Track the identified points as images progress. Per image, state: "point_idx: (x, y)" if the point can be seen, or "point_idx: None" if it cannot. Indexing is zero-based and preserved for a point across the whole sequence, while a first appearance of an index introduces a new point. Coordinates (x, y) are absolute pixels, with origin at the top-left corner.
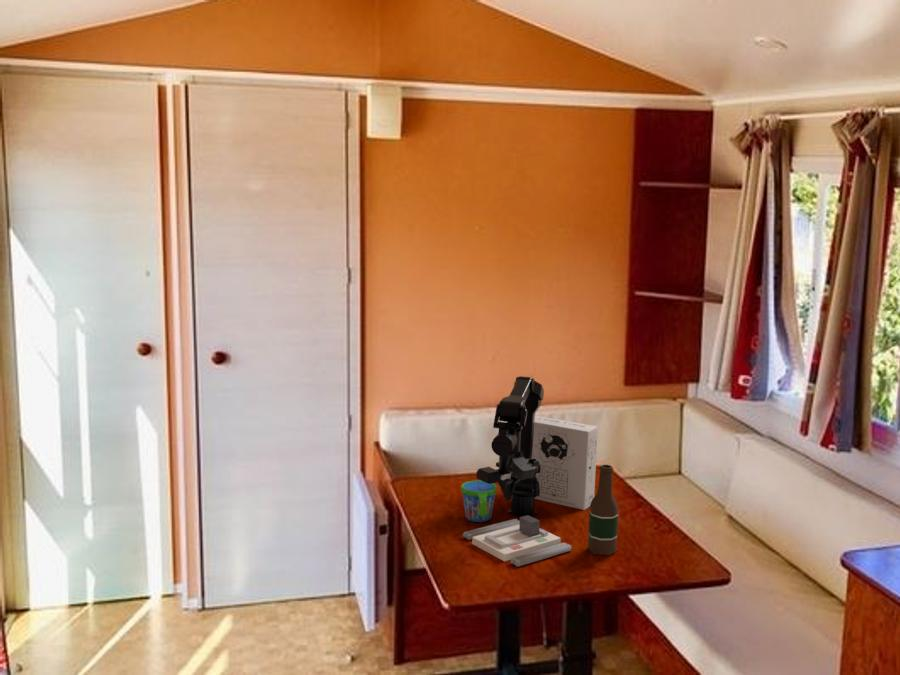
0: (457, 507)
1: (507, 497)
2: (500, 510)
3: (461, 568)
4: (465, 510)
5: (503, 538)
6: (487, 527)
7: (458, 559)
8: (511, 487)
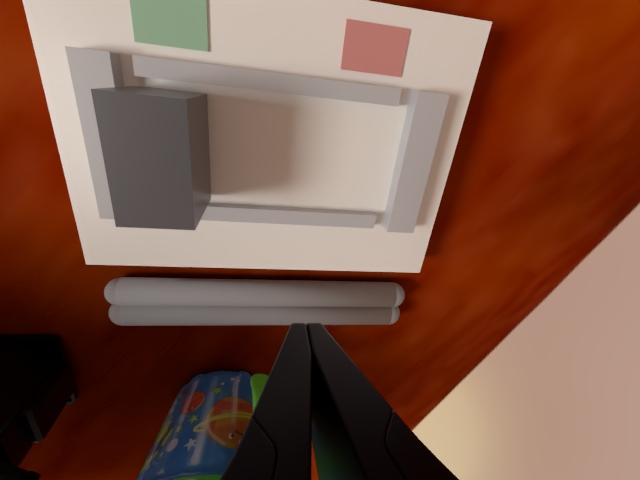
0: None
1: (340, 349)
2: (100, 415)
3: (626, 110)
4: None
5: (334, 185)
6: (290, 314)
7: (556, 183)
8: (307, 462)
